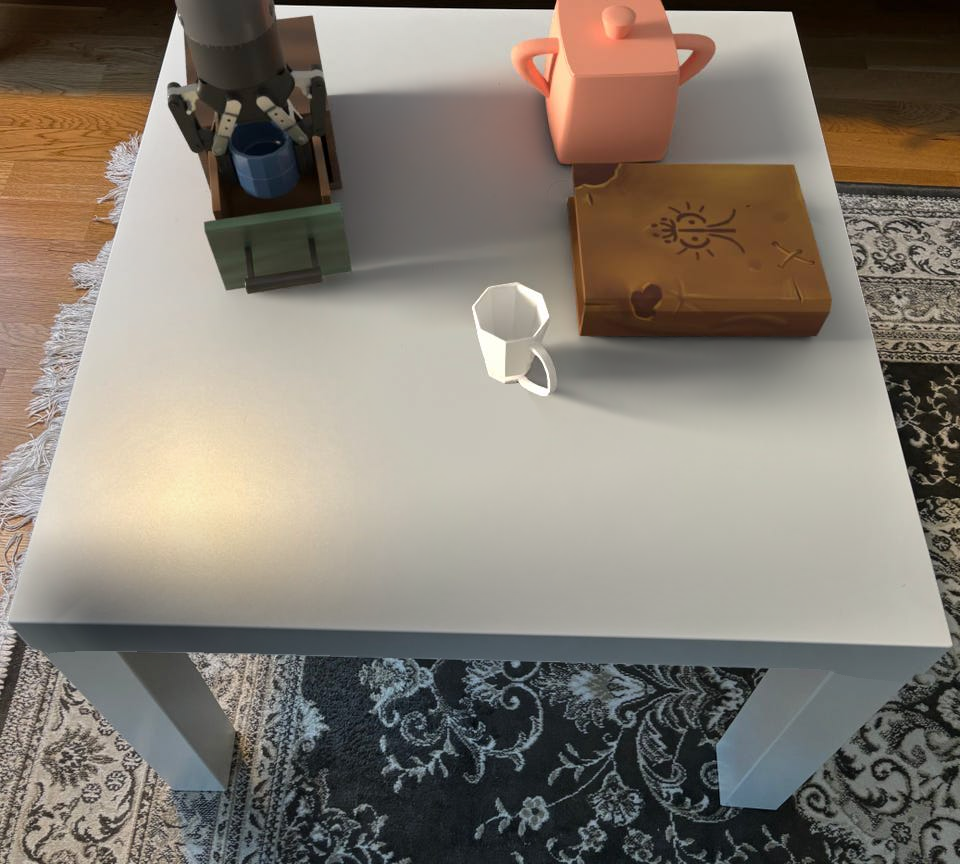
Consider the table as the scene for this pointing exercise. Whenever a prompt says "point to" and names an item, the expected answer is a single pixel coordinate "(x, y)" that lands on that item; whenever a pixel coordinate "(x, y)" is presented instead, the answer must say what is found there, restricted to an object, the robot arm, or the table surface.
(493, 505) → the table surface
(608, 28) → the pink lidded sugar bowl
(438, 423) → the table surface
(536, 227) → the table surface
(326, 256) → the drawer
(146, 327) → the table surface
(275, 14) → the robot arm
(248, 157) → the blue faceted tumbler
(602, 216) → the diary
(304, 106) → the cabinet
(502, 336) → the cup
